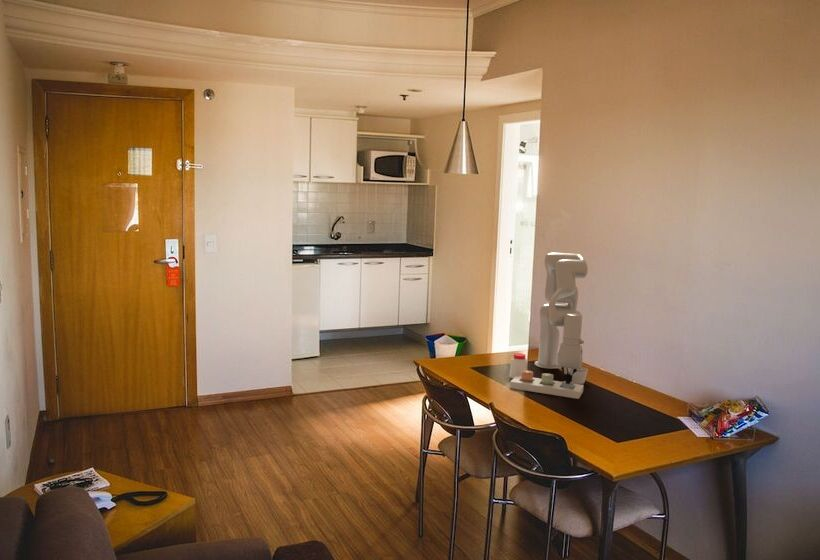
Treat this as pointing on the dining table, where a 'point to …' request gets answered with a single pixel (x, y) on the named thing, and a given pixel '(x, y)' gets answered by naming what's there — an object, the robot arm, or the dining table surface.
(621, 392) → the dining table surface
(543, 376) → the button sage
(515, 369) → the pill bottle
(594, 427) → the dining table surface
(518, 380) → the console
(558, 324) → the robot arm
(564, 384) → the button slate
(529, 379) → the button terracotta
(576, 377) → the candle
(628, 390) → the dining table surface
